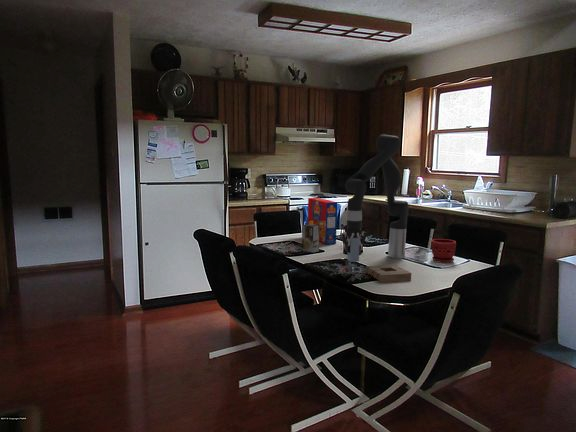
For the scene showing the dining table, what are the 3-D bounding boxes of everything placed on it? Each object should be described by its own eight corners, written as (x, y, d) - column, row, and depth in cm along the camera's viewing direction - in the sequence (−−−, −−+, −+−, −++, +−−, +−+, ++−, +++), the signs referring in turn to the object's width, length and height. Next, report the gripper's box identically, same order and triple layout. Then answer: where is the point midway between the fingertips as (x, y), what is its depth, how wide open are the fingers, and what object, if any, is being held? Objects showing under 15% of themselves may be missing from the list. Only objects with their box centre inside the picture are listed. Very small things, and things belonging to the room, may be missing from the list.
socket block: (365, 272, 211) (366, 266, 211) (394, 270, 215) (394, 264, 215) (380, 282, 196) (381, 275, 195) (411, 280, 200) (411, 273, 200)
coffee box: (319, 251, 256) (320, 225, 253) (312, 252, 251) (313, 226, 249) (307, 248, 262) (308, 223, 259) (301, 250, 257) (301, 224, 255)
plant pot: (457, 260, 238) (458, 240, 236) (451, 265, 227) (453, 244, 226) (433, 257, 245) (435, 237, 244) (427, 261, 235) (428, 240, 233)
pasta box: (307, 236, 299) (308, 198, 295) (317, 236, 302) (318, 197, 298) (325, 244, 273) (326, 202, 269) (335, 244, 276) (337, 202, 272)
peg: (347, 259, 214) (348, 236, 212) (355, 259, 215) (356, 236, 213) (350, 261, 209) (351, 238, 207) (358, 261, 210) (359, 238, 208)
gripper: (364, 217, 214) (363, 249, 217) (338, 218, 210) (337, 251, 213) (370, 219, 207) (369, 253, 210) (343, 220, 203) (342, 254, 206)
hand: (353, 252), depth 211 cm, fingers closed on peg, 4 cm apart
